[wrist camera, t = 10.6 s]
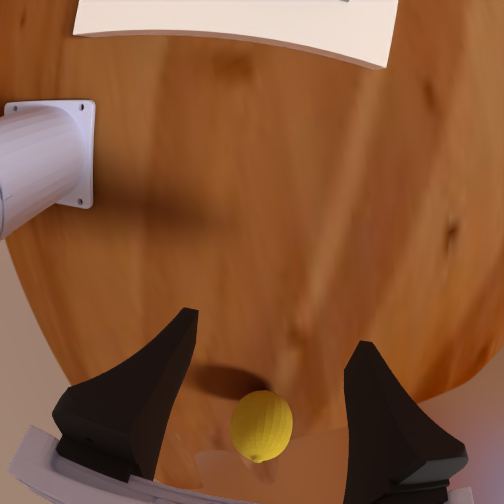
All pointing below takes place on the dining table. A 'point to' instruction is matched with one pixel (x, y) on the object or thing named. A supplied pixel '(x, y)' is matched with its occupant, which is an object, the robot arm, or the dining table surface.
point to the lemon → (261, 425)
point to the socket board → (255, 23)
